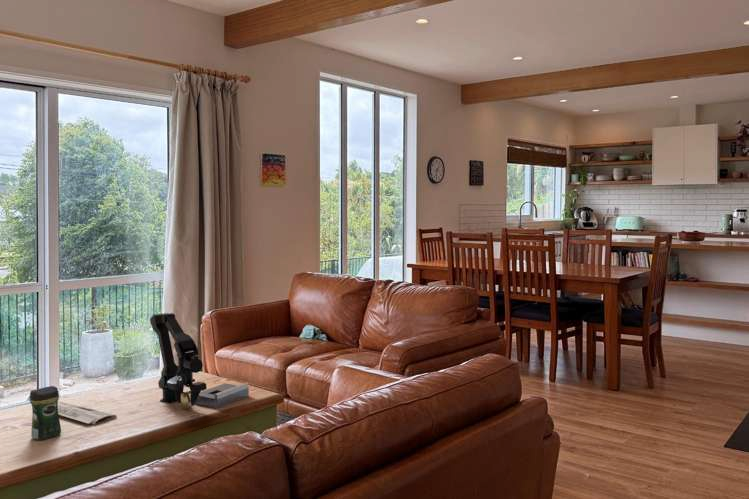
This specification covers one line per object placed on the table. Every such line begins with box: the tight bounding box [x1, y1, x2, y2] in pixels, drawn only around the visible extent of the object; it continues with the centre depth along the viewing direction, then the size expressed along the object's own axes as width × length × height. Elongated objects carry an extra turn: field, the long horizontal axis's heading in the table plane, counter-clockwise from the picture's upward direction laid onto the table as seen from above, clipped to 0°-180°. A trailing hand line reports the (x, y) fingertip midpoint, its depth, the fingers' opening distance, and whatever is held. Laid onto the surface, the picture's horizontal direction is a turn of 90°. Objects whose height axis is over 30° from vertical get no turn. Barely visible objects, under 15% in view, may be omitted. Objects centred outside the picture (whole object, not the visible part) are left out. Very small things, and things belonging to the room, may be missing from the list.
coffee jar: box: [29, 385, 62, 441], centre depth 239 cm, size 10×8×19 cm
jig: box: [194, 382, 250, 409], centre depth 284 cm, size 14×20×6 cm
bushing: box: [180, 390, 193, 412], centre depth 271 cm, size 4×4×7 cm
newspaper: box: [58, 401, 117, 426], centre depth 264 cm, size 35×12×4 cm, turn 61°
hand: (186, 404), depth 271 cm, fingers open, 7 cm apart
